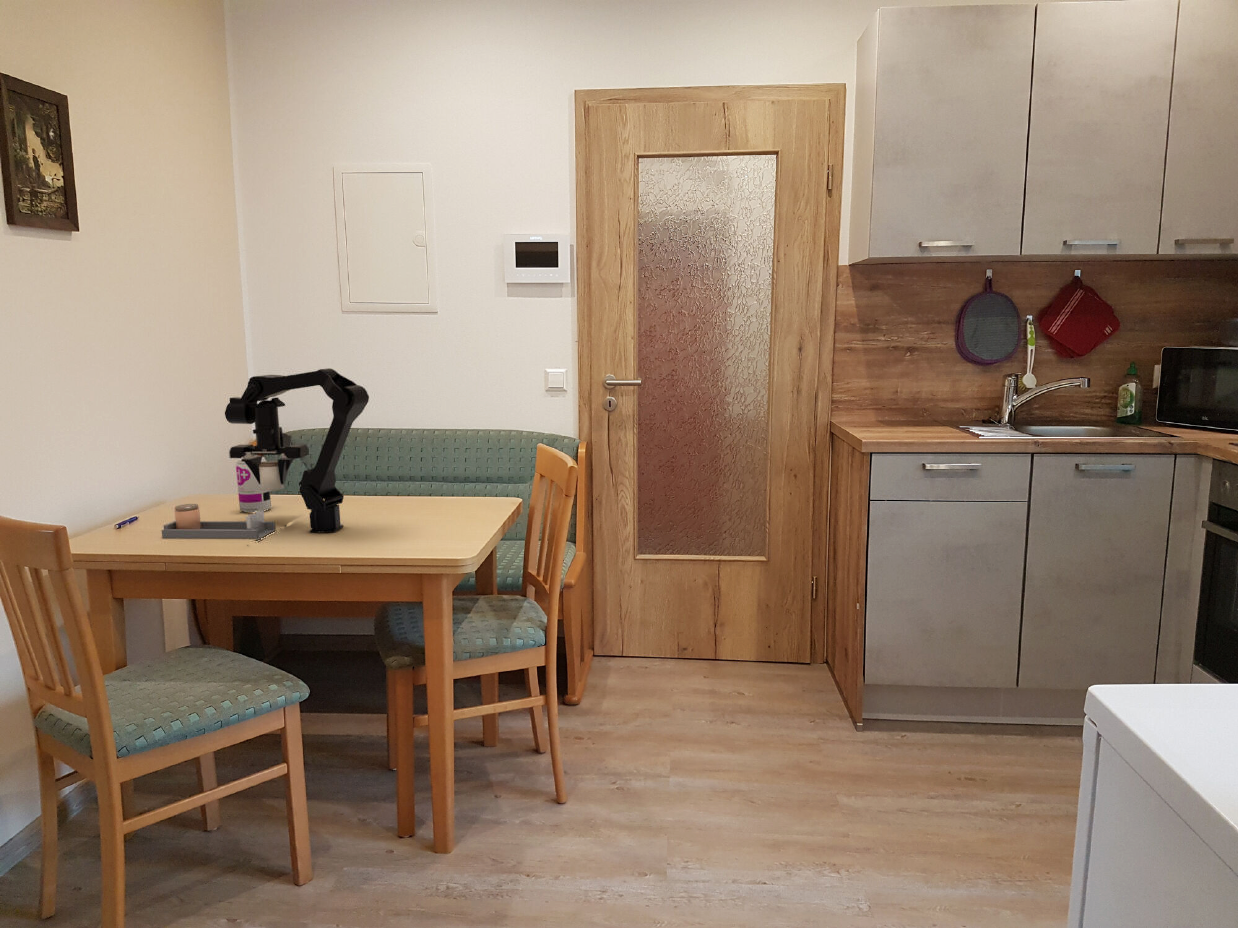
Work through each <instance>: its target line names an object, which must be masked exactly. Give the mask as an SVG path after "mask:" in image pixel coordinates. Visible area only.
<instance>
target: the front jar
mask: <svg viewBox="0 0 1238 928" xmlns="http://www.w3.org/2000/svg"><path fill="white" fill-rule="evenodd" d="M174 517H175V520H176V529H201V521H202V520H201V513H200V507H199V504H197V503H184V504H180V505H176V506H174ZM175 520H174V521H175Z"/></svg>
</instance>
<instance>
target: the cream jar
mask: <svg viewBox="0 0 1238 928" xmlns="http://www.w3.org/2000/svg"><path fill="white" fill-rule="evenodd" d="M259 465H260V466H259V473H260V485H261V490H262V491H270V492H275V491H280V490H284V487H285V486H284V485H285V484H283V485H282V484H281V481H280V476H279V468H278V460H266V461H264V462H260V463H259Z"/></svg>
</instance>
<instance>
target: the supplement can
mask: <svg viewBox="0 0 1238 928" xmlns="http://www.w3.org/2000/svg"><path fill="white" fill-rule="evenodd" d="M241 459H243V457H242V458H237V462H236V464H235V469H236V472H235V473H236V481H237V492H238V504H239V510H240V511H241V512H242V511H244V512H255V511H259V510H263V511H264V510H267V509H269V510H270V508H272V500H271V498H272V497H271V491H262V490H261V485H260V484H259V483H258V481H257V479H256V478H255V476H254V475H253V473H252V471H251V470H250V468H249V467H248V466H247V465H246V463H245V462H242V461H241ZM264 461H267V459H266V458H265V457H264V456H262V460H261V462H264ZM267 511H268V510H267ZM244 512H243V513H244ZM264 512H265V511H264Z"/></svg>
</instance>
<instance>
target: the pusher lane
mask: <svg viewBox="0 0 1238 928" xmlns="http://www.w3.org/2000/svg"><path fill="white" fill-rule="evenodd" d="M200 521H201V529H176V520H174V521H170V522H169V523H166V524H163V529H162V530H161V538H162V539H180V540H181V539H188V540H189V539H194V540H196V539H197V540H198V539H199V540H201V539H203V540H204V539H207V540H208V539H210V540H212V539H215V540H216V539H217V540H218V539H219V540H220V539H222V540H234V539H235V540H253V541H258V540H261V538H264V537H266V536H267V535H269V534H271V533H273V532H275V531H276V522H275V521H274V520H273V521H268V520H267V521H266V520H264V522H265V530H263V531H261V532H259V531H258V530H247V521H246V520H244V521H242V520H241V521H240V520H236V521H234V520H228V521H227V520H220V521H219V520H211V521H210V520H200ZM261 541H262V540H261Z"/></svg>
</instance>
